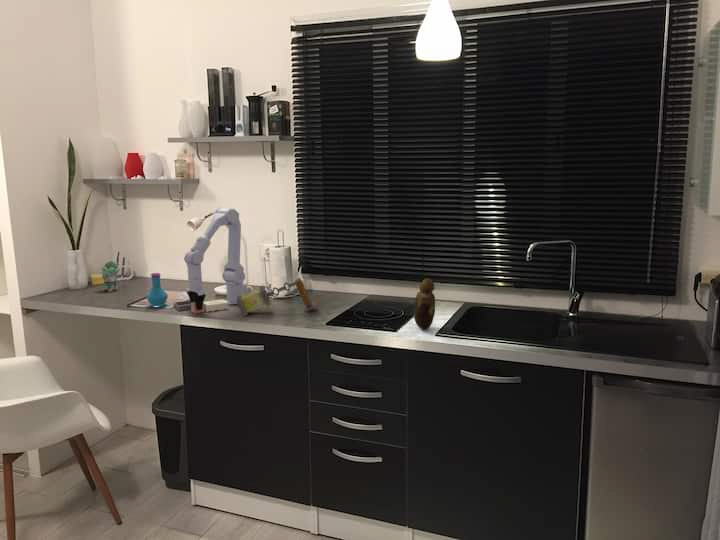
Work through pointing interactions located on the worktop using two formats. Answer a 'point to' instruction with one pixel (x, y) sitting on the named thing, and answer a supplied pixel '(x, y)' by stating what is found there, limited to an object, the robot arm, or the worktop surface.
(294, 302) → the worktop surface
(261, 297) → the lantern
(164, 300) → the perfume bottle
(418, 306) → the sculpture
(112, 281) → the toy
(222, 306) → the block
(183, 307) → the tray
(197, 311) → the stub
